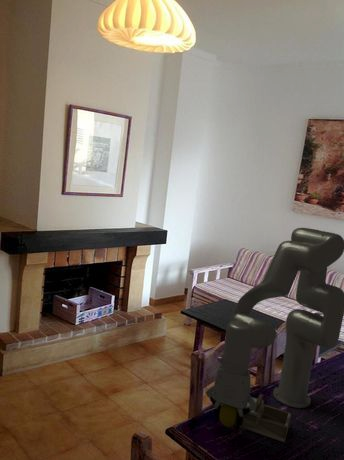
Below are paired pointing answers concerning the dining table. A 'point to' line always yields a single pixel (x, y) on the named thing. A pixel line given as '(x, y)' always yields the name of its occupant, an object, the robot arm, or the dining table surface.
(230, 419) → the lemon
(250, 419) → the beige box
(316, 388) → the dining table surface
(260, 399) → the cover
